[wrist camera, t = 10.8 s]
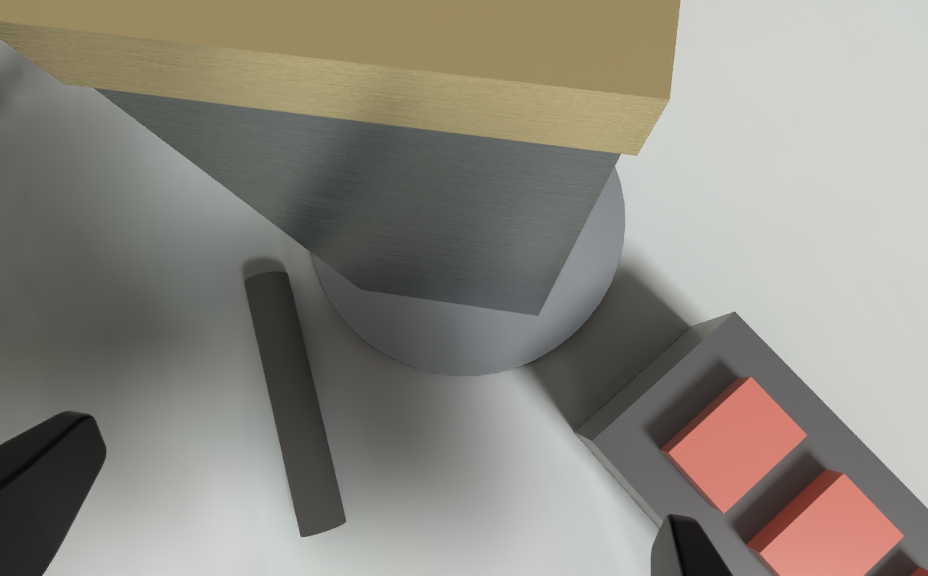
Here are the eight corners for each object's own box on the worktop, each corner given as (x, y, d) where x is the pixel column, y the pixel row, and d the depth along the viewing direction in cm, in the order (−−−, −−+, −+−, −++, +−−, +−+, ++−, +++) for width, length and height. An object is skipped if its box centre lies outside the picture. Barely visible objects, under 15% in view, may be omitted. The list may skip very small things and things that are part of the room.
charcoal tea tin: (541, 320, 17) (670, 99, 4) (356, 292, 17) (-30, 17, 5) (565, 142, 17) (732, -486, 5) (389, 120, 18) (137, -510, 5)
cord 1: (350, 518, 17) (339, 527, 15) (308, 530, 17) (294, 540, 15) (293, 276, 18) (279, 268, 17) (254, 288, 18) (237, 280, 17)
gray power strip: (943, 590, 16) (1090, 655, 12) (821, 712, 15) (929, 819, 11) (690, 326, 17) (747, 306, 13) (574, 432, 17) (597, 443, 13)
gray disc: (449, 443, 17) (447, 445, 16) (255, 210, 18) (247, 204, 18) (686, 233, 17) (693, 227, 17) (480, 24, 19) (479, 12, 18)
